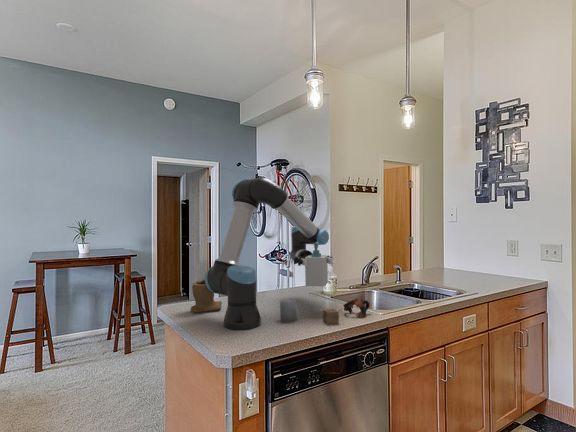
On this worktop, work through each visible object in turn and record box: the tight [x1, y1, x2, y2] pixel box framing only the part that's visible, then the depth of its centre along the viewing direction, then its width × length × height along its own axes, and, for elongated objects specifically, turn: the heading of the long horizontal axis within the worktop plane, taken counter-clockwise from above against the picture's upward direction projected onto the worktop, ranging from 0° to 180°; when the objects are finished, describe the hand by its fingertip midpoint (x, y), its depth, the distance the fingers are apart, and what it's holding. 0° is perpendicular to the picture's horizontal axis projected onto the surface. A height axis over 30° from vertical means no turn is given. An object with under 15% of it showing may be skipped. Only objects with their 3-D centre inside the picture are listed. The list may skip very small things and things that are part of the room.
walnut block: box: [322, 308, 340, 326], centre depth 147 cm, size 5×5×5 cm
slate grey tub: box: [279, 298, 298, 323], centre depth 152 cm, size 7×7×8 cm
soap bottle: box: [304, 242, 329, 287], centre depth 163 cm, size 9×9×19 cm
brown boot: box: [190, 278, 223, 313], centre depth 169 cm, size 15×12×15 cm
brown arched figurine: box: [343, 298, 370, 319], centre depth 159 cm, size 12×10×8 cm
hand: (319, 262), depth 159 cm, fingers closed on soap bottle, 12 cm apart
